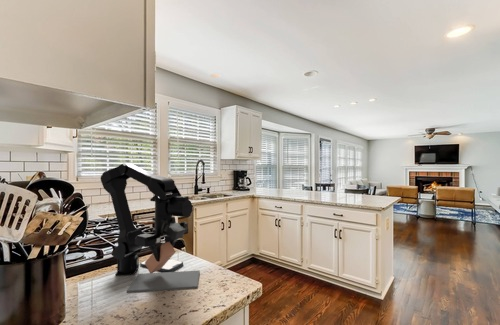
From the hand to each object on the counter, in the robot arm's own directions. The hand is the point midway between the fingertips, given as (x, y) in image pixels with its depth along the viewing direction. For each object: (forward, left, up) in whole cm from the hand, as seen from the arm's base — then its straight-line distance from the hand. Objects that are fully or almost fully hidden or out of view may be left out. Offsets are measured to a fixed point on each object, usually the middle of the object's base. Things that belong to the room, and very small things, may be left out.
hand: (163, 259), depth 87 cm
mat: (+1, -1, -8) cm, 8 cm away
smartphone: (-3, +13, -8) cm, 16 cm away
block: (-4, +4, -4) cm, 7 cm away
